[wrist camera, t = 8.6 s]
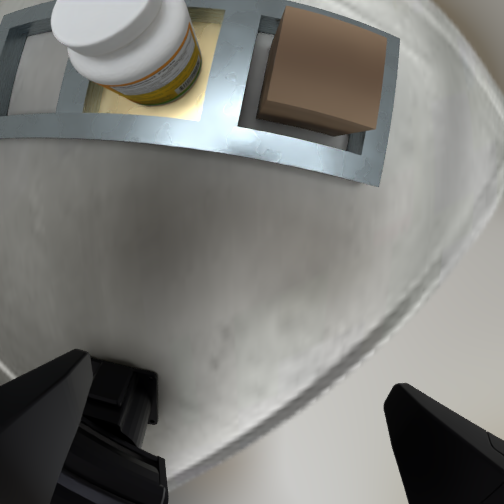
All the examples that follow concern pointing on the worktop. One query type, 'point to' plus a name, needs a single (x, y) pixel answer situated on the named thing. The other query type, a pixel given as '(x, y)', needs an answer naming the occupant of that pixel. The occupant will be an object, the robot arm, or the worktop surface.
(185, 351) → the worktop surface
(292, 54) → the walnut block
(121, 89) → the supplement bottle
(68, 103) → the rail
